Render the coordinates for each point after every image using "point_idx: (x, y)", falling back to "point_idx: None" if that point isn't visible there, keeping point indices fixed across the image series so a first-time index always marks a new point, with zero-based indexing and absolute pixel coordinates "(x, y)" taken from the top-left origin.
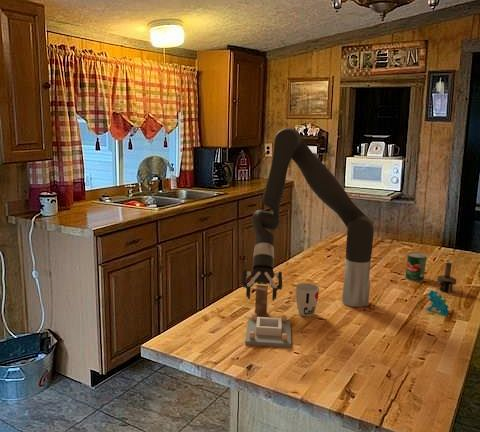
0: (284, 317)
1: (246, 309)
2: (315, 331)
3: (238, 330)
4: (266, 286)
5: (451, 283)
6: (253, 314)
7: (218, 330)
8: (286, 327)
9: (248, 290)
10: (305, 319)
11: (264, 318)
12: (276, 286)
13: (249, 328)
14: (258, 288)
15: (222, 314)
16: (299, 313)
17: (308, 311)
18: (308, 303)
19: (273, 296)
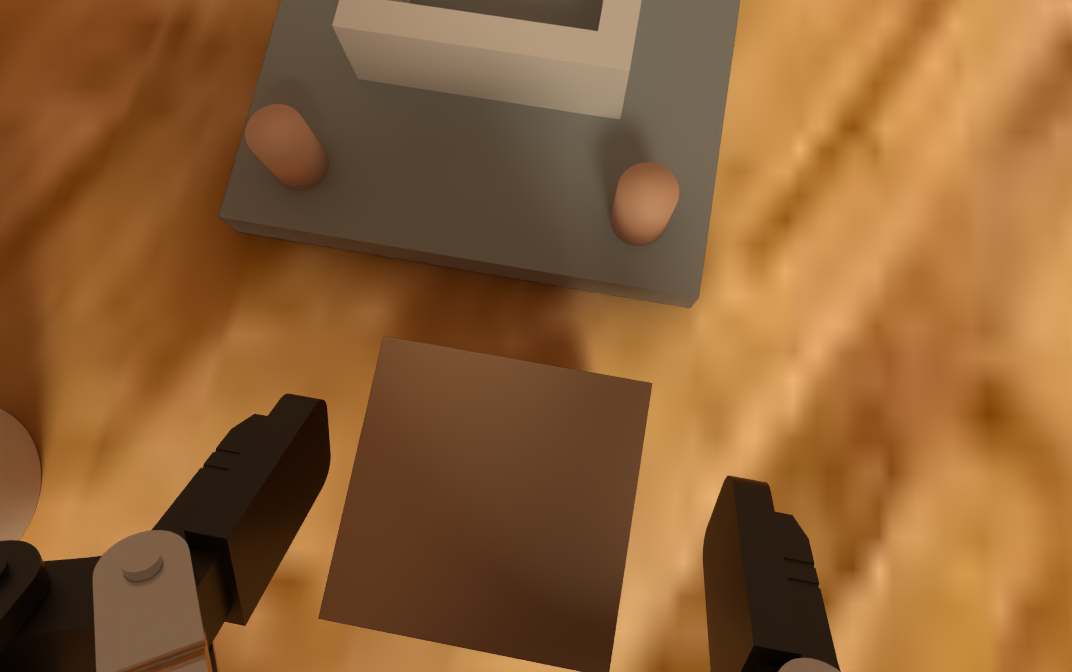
0: (281, 106)
1: (689, 661)
2: (39, 38)
3: (812, 77)
4: (362, 568)
5: None
6: (660, 191)
7: (1021, 82)
8: (313, 29)
9: (785, 574)
10: (27, 320)
11: (543, 23)
12: (110, 561)
13: (711, 15)
14: (586, 428)
15: (1006, 501)
16: (35, 466)
17: None
18: None
19: (292, 408)
